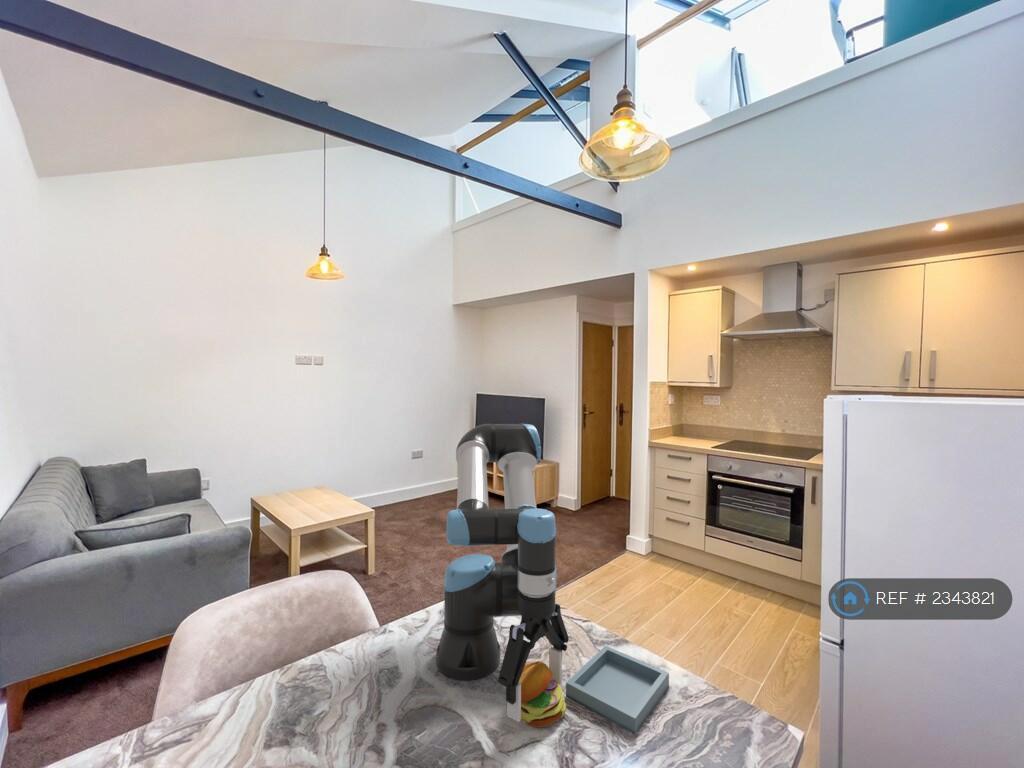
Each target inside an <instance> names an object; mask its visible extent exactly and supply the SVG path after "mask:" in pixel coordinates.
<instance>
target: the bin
mask: <svg viewBox="0 0 1024 768" xmlns="http://www.w3.org/2000/svg"><path fill="white" fill-rule="evenodd" d="M669 687H670V672H669V671H665V670H664V669H662V668H659V667H656V666H654V665H652V664H650V663H648V662H645V661H643V660H640V659H639V658H638V659H637V658H635V657H633V656H630V655H629V654H626V653H623V652H622V651H619V650H617V649H615V648H612V647H609V645H604V646H603V647H602V648H601V649H599V651H598V652H597V653H595V655H594V656H592V657H591V658H590V659H589V660H588V661H587V662H586V663H585V664H584V665H583V666H582V667H581V668H580V669H579V670H578V671H577V672H575V674H574V675H572V677H570V678H569V679H568V680H567V681H566V682H565V698H567V699H568V700H571V701H572V702H574V703H576V704H578V705H580V706H582V707H583V708H585V709H587V710H589V711H590V712H592V713H594V714H596V715H598V716H600V717H602V718H604V719H605V720H607V721H609V722H610V723H612V724H615V725H616V726H618V727H620V728H622V729H624V730H626V731H627V732H629V733H631V734H632V735H634V736H636V734H637V733H638V731H639V730H640V729H641V727H642V726H643V724H645V721H646V720H647V718H649V715H651V714H652V711H653V710H654V708H655V707H656V706H657V705H658V704H659V701H660V700H661V699H662V697H663V696H664V695H665V693H666V691H667V690H668V689H669Z"/></svg>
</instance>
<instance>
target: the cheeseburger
mask: <svg viewBox="0 0 1024 768" xmlns="http://www.w3.org/2000/svg"><path fill="white" fill-rule="evenodd" d="M518 683H520V684H521V721H523V723H525V724H526V725H528V726H530V727H534V728H541V727H547V726H549V725H552V724H554V723H556V722H557V721H559V720H560V719H562V718H563V717H564V716H565V714H566V712H567V703H566V702H565V697H564V695H563V689H562V687H561V686H560V685H561V684H560V685H559V684H558V683H557V682H556V681H555V680H553V679H552V671H551V670H550V669H549V665H547V664H545V663H544V662H543V661H540V660H539V661H534V662H530V663H529V662H528V663H526V664H525V666H524V669H523V672H522V674H521V677H520V680H519V682H518Z"/></svg>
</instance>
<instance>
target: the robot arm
mask: <svg viewBox="0 0 1024 768" xmlns="http://www.w3.org/2000/svg"><path fill="white" fill-rule="evenodd" d="M540 438H541V437H540V435H539V432H538V429H537V428H536V426H535V425H533V424H530V423H529V424H528V423H522V422H521V423H520V422H519V423H518V424H517V423H516V424H515V423H483V424H480V425H476V426H475V427H473V428H472V429H470V430H468V431H467V432H466V433H465V434H464V435H463V436H462V437H461V438H460V441H458V444H457V447H456V451H455V458H456V459H455V460H456V462H457V464H458V480H457V493H456V494H457V496H456V497H457V498H456V509H452V510H449V511H448V512H447V513H446V514H447V515H446V541H447V543H448V544H449V545H450V546H463V547H472V546H473V547H474V546H493V545H494V546H495V545H497V546H498V545H500V546H501V545H503V546H505V545H506V550H505V551H504V552H503V553H502V555H501V562H495V560H494V558H493V556H492V555H489V554H485V553H472V554H466V555H464V556H461V557H458V558H456V559H454V560H453V561H451V562H450V563H449V564H448V565H447V567H446V569H445V572H444V582H443V590H444V603H443V604H444V605H443V606H444V609H443V615H444V616H443V617H444V618H443V629H442V632H441V636H440V640H439V644H438V645H437V648H436V653H435V656H436V657H435V659H436V661H435V662H436V663H435V664H436V667H437V669H438V670H439V672H440V673H441V674H442V675H444V676H446V677H448V678H451V679H455V680H459V681H472V680H477V679H482V678H484V677H487V676H489V675H491V674H492V673H493V672H494V671H496V669H497V668H498V667H499V665H500V663H501V645H500V643H499V641H498V637H497V633H496V630H495V626H494V617H496V618H497V617H515V616H516V617H517V616H521V618H520V619H521V620H520V623H519V624H518V625H514V624H511V625H510V626H509V633H508V640H507V644H506V649H505V652H504V656H503V659H502V663H501V668H500V670H499V674H498V678H497V684H499V685H501V686H503V688H505V701H506V703H507V704H506V707H507V709H506V715H507V716H508V717H509V718H510V719H512V720H513V721H515V722H517V723H519V722H521V721H522V719H521V684H520V683H518V682H519V680H520V677H521V674H522V672H523V669H524V666H525V664H527V661H528V658H529V655H530V653H531V650H533V649H534V648H535V646H536V643H537V642H539V640H541V639H542V638H544V637H545V638H546V639H547V641H548V642H549V644H550V645H551V646H550V647H549V648H548V668H549V669H550V670H551V671H552V679H553V680H555V681H556V682H557V683H558V684H559V685H561V684H562V682H563V681H562V679H563V678H562V673H563V672H562V671H563V669H562V667H563V666H562V665H563V663H562V662H563V652H566V651H567V650H568V645H567V643H568V642H569V639H570V637H569V634H568V632H567V629H566V626H565V622H564V620H563V617H562V611H561V605H560V603H559V604H558V603H556V593H557V566H556V536H557V535H556V534H557V527H556V517H555V514H554V513H553V511H550V510H548V509H544V508H537V502H536V492H535V490H536V489H535V482H534V474H533V473H534V472H533V470H534V469H535V468H536V467H537V464H538V462H539V461H540V460H541V456H542V447H541V440H540ZM487 463H497V468H498V470H499V471H501V472H502V474H503V475H502V476H503V492H504V493H503V494H504V508H489V489H488V474H487V472H488V469H487ZM525 639H527V640H525Z"/></svg>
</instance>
